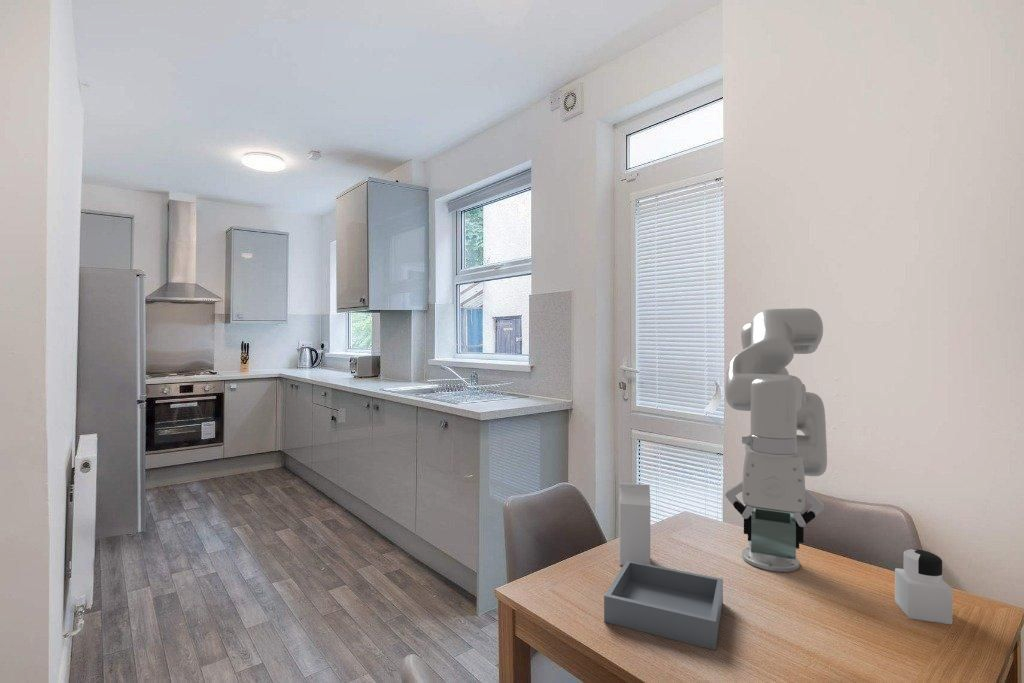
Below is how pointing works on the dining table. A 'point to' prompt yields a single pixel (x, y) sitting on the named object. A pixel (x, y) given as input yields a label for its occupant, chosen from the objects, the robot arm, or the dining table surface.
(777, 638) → the dining table surface
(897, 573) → the medicine bottle
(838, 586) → the dining table surface
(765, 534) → the teal crate
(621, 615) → the charcoal crate
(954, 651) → the dining table surface
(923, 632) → the dining table surface
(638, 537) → the milk carton
